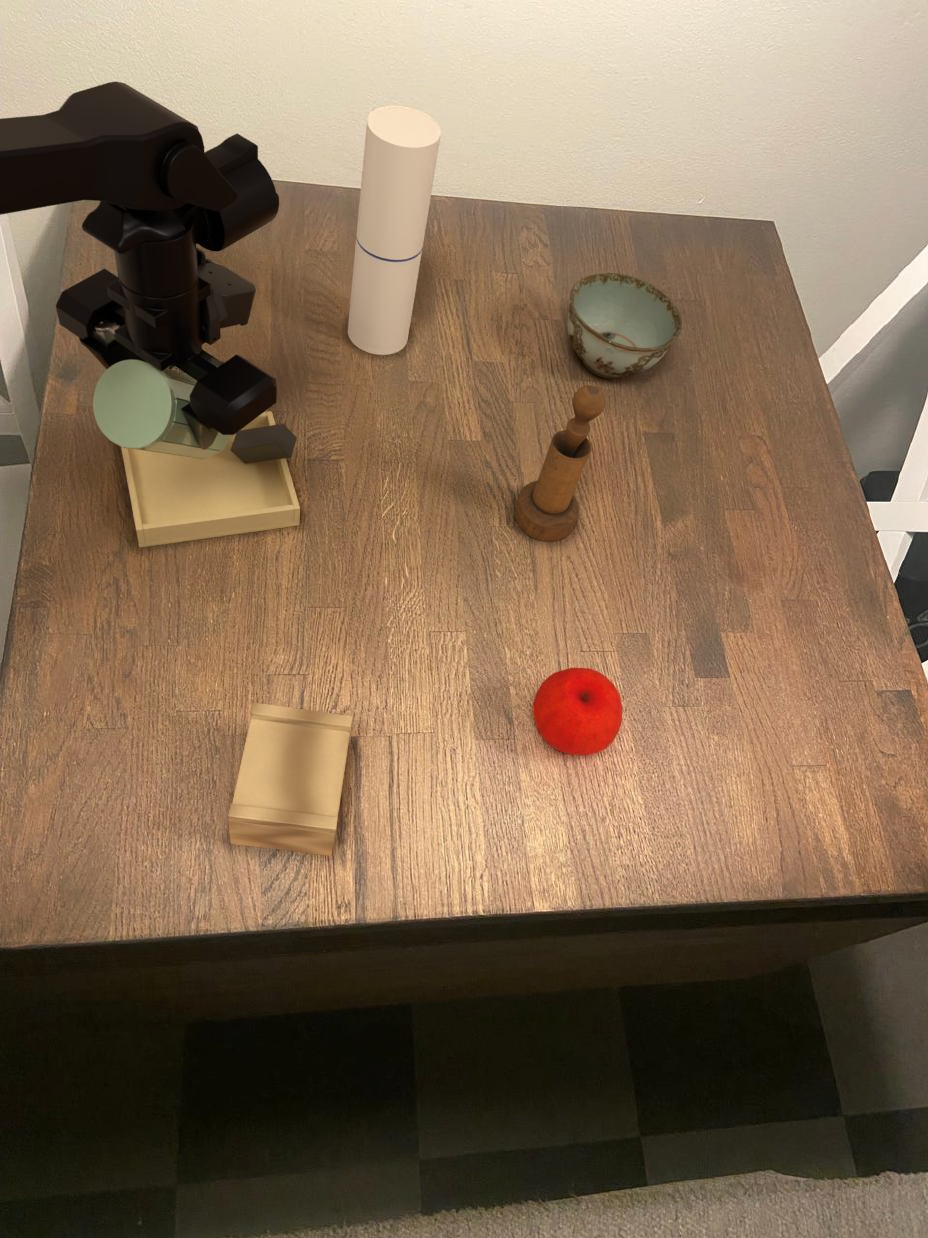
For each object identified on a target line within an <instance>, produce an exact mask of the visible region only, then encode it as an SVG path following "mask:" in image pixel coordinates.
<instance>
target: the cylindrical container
mask: <svg viewBox="0 0 928 1238" xmlns="http://www.w3.org/2000/svg"><path fill="white" fill-rule="evenodd" d="M365 128H366V129H365V139H364V150H363V160H362V170H361V182H360V192H359V203H358V214H357V226H356V235H355V236H356V237H355V245H354V246H355V247H354V248H355V249H354V257H353V258H354V259H353V270H352V280H351V291H350V299H349V300H350V301H349V312H348V323H347V336H348V338H349V340H350V341H351V343H352V344H353V345H354V346H355V347H357V348H358V349H359V350H361V351H364V352H365V353H369V354H372V355H376V356H388V355H392V354H396V353H399V352H400V351H401V350H403V349H404V348H405V347H406V346H407V344H408V340H409V333H410V328H411V322H412V315H413V311H414V310H413V309H414V304H415V297H416V291H417V285H418V278H419V273H420V272H419V271H420V266H421V259H422V255H423V247H424V241H425V235H426V229H427V222H428V216H429V211H430V205H431V197H432V191H433V187H434V181H435V180H434V179H435V173H436V167H437V161H438V154H439V148H440V142H441V135H442V130H441V126H440V124H439V123H438V122H437V121H436V120H435V119H434V118H433V117H431V116H430V115H428V114H427V113H425V112H423V111H421V110H419V109H416V108H413V107H408V106H403V105H385V106H381V107H378V108H375V109H373V111H371V112H370V113H369V114H368V116H367V119H366V126H365Z"/></svg>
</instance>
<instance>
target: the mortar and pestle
mask: <svg viewBox="0 0 928 1238" xmlns="http://www.w3.org/2000/svg"><path fill="white" fill-rule="evenodd" d="M571 405H572V409H573V413H574V417H572V418H570V419H569V420H568V421H567V423H566V427H565V429H564V430H559V431H557V432H556V433H554V434H553V436H552V438H551V440H550V444H549V446H548V450H547V453H546V456H545V458H544V461H543V463H542V467H541V470H540V473H539V474H538V478H537V480H533V481H531V482H529V483H527V484H525V486H524V487H523V488H522V489H521V490H520V492H519V494H518V497H517V501H516V503H515V506H514V511H513V512H514V519H515V521H516V524H517V525H518V527H519V528H520V530H522V532H523V533H525V534H526V535H527V536H529V537H531V538H533V539H535V540H536V541H541V542H548V543H550V542H558V541H561V540H563V539H565V538H566V537H568V536H569V535H570V533H571V532H572V531H573V528H574V526H575V524H576V522H577V520H578V516H579V513H580V512H579V511H580V508H579V502H578V500H577V499H576V496H575V495H574V493H575V491H576V488H577V486H578V484H579V481H580V478H581V477H582V474H583V472H584V469H585V466H586V464H587V462H588V459H589V458H590V455H591V453H592V449H593V448H592V443H591V441H590V440H589V438H587V437H588V436H589V434H590V432H591V426H590V424H589V423H590V422H591V421H593V420H595V419H596V418H598V417H599V416H600V415H602V413H603V412H604V410H605V408H606V395H605V393H604V391H603V390H602V389H601V388H600V387H598V386H596V385H594V384H586V385H582V386H581V387H579V388H578V389H577V390H576V391H575V392H574V395H573V397H572V403H571Z"/></svg>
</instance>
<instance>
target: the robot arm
mask: <svg viewBox="0 0 928 1238" xmlns="http://www.w3.org/2000/svg"><path fill="white" fill-rule="evenodd" d="M79 201H94V202H95V201H97V202H99V203H98V205H97V206H96V207H95V209H93V210H92V211H90V212H89V213H88V214H87V215H86V217H85V219H84V220H83V222H82V223H81V228H82V231H83V232H85V233H86V234H88V235H89V236H91V237H92V238H94V239H96V240H97V241H99V242H100V243H102V244H103V245H104V246H106V247H108V248H109V249H111V250H113V252H114V253H113V254H114V259H115V260H114V261H115V267H116V273H115V272H113V271H111V270H109V269H107V268H102V269H101V270H99V271H97V272H96V273H93V274H92V275H90V276H88V277H86V278H84V279H82V280H81V281H79V282H77V283H75V284H73V285H72V286H70V287H68V288H66V289H64V290H62V291H61V292H60V294H59V295H58V298H57V300H56V303H55V310H56V315H57V317H58V318H57V319H58V323H59V325H60V326H62V327H63V328H64V329H66V330H67V331H69V332H70V333H72V334H73V335H74V336H76V337H78V340H79V342H80V344H81V345H82V346H84V347H85V348H86V349H87V350H88V351H89V352H90V353H91V354H92V355H93V357H95V358H96V359H97V360H98V362H99V363H100V364H101V365H102V366H103V367H104V368H105V369H106V370H107V369H108V368H110V367H111V366H112V365H114V364H116V363H118V362H120V361H124V360H130V359H133V360H141V361H144V362H148V363H150V364H151V365H153V366H154V367H156V368H157V369H159V370H160V371H163V370H165V369H166V370H170V369H172V370H173V368H175V367H176V368H177V369H178V370H180V371H181V372H182V373H185V374H188V375H189V376H191V377H192V378H194V379H195V380H197V382H196V384H195V386H194V388H193V390H192V392H191V394H190V396H189V397H190V403H189V404H187V405H186V406H184V407H183V408H181V411H182V413H183V415H184V417H185V419H186V421H187V423H188V425H189V427H190V429H191V431H192V433H193V435H194V437H195V439H196V441H197V442H198V444H199V446H200V447H201V448H202V449H203V450H206V449H207V448H209V447H210V446H211V445H212V444H213V443H214V440H215V438H216V436H217V434H218V432H219V433H221V434H222V435H234V434H235V433H237V432H238V431H239V430H241V429H242V428H243V427H245V426H246V425H247V424H249V423H250V422H251V421H253V420H254V419H255V418H257V417H258V416H259V415H261V414H262V413H263V412H267V410H269V409H270V408H272V407H273V406H274V405H276V404H278V403H277V402H278V384H277V378H276V377H274V376H273V375H272V374H270V373H268V372H267V371H265V370H264V369H263V368H261V367H259V366H257V365H256V364H255V363H253V362H252V361H250V360H249V359H247V358H245V357H243V356H241V355H239V354H234V355H233V356H232V357H231V358H229V359H228V360H226V361H225V362H222V360H219V359H218V358H217V357H215V356H214V355H212V354H210V353H209V352H208V351H206V350H204V349H203V345H205V344H207V345H209V346H212V345H213V344H215V343H216V342H218V341H219V340H221V338H222V336H221V329H225V328H229V327H233V326H238V325H240V326H242V327H243V326H246V325H248V323H249V320H250V316H251V313H252V308H253V303H254V299H255V296H256V291H257V287H256V286H255V285H254V284H253V283H252V282H250V281H248V280H247V279H245V278H243V277H242V276H240V275H239V274H237V273H236V272H235V271H232V270H231V269H230V268H227V266H224V265H222V264H219V263H216V262H214V261H213V260H211V259H209V258H206V257H207V256H206V252H205V251H203V250H202V249H201V248H199V247H197V245H199V246H200V247H202V248H203V249H205V250H206V251H207V250H208V251H210V252H221V251H224V250H225V249H227V248H228V247H230V246H232V245H233V244H235V243H237V242H239V241H241V240H242V239H244V238H245V237H247V236H249V235H250V234H252V233H254V232H255V231H257V230H258V229H259V230H260V229H261V228H262V227H264V226H267V224H269V223H271V222H272V221H273V220H274V219H275V218H276V217H277V215H278V213H279V207H280V195H279V194H278V193H277V191H276V186H275V183H274V181H273V178H272V177H271V175H270V173H269V172H268V170H267V168H266V167H265V165H264V164H263V163H262V162H261V160H260V159H259V145H257V144H256V143H254V142H253V141H251V140H249V139H248V138H246V137H245V136H243V135H241V134H239V133H234V134H233V135H231V136H229V137H227V138H225V140H223V141H222V142H221V143H219V144H218V145H216V146H214V147H212V148H210V149H208V150H206V151H205V144H204V139H203V136H202V134H201V132H200V130H199V126H197V125H196V124H195V123H192V122H191V121H189V120H187V119H186V118H184V117H182V116H180V115H179V114H178V113H175V112H174V111H172V110H171V109H169V108H168V107H166V106H164V105H162V104H160V103H159V102H157V101H155V100H154V99H152V98H151V97H149V96H147V95H146V94H144V93H142V92H140V91H139V90H137V89H135V88H133V87H132V86H130V85H128V84H127V83H125V82H121V81H111V82H110V81H109V82H106V83H102V84H99V85H96V86H92V87H89V88H85V89H83V90H79V91H76V92H73V93H71V95H69V96H68V97H67V98H66V100H65V101H64V103H63V104H62V105H61V106H60V107H59V108H58V109H57V110H54V111H51V112H48V113H45V114H38V115H26V116H15V117H3V118H0V216H1V215H7V214H14V213H18V212H19V213H20V212H23V211H24V212H25V211H30V210H35V209H40V208H47V207H53V206H57V205H64V204H69V203H75V202H79Z"/></svg>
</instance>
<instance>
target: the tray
mask: <svg viewBox="0 0 928 1238" xmlns="http://www.w3.org/2000/svg"><path fill="white" fill-rule="evenodd" d="M271 425H277V424H276V421H275V418H274V414H273V412H272V411H270V410H269V411H265V412H263V413H262V414H261V415H259V416H258V417H257V418H255V419H254V420H253V421H251V422H250V423H249V424H247V425H246V426H245V427H243V428H242V429H241V430H246V429H252V428H259V427H265V426H271ZM239 431H240V430H239ZM235 436H236V433H235V434H234V435H232V437H231V439H230V440H229V442H228V443H227V445H226V446H225V447H224V449H223V450H222V451H221V452H220V453H217V454H215V455H213V456H211V457H209V458H207V459H197V458H191V457H184V456H177V455H171V454H164V453H157V452H151V451H144V450H137V449H131V448H124V447H122V446H120V449H121V454H122V459H123V465H124V471H125V476H126V481H127V487H128V493H129V498H130V504H131V510H132V516H133V521H134V527H135V532H136V537H137V543H138V548H147V547H153V546H161V545H168V544H176V543H184V542H190V541H197V540H204V539H212V538H219V537H227V536H235V535H241V534H249V533H254V532H263V531H269V530H270V531H271V530H277V529H283V528H290V527H291V528H292V527H298V526H300V521H301V520H300V519H301V506H300V503H299V500H298V496H297V493H296V489H295V486H294V482H293V478H292V476H291V471H290V469H289V466H288V461H287V458H283V459H276V460H268V461H261V462H254V463H246V464H245V463H244V462H243V461H242V460H241V459H239V458H238V457H237V456H236V455H235V454H234V453H233V452H232V451H231V447H232V444H233V441H234V438H235Z"/></svg>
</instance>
